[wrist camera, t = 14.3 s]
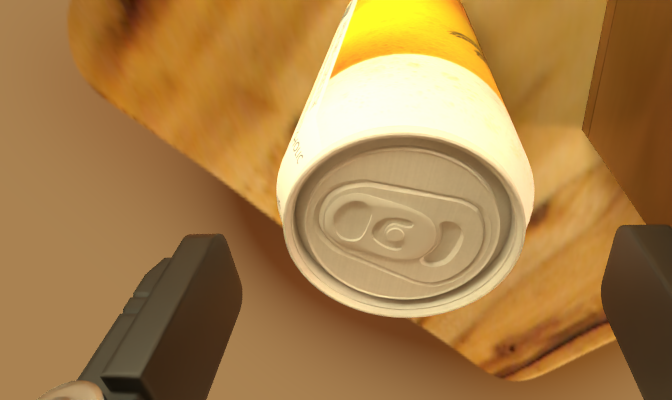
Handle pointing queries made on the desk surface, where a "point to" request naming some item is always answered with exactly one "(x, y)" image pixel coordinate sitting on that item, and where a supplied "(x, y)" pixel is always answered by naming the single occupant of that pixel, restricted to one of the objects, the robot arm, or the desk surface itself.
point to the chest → (635, 103)
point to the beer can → (405, 166)
